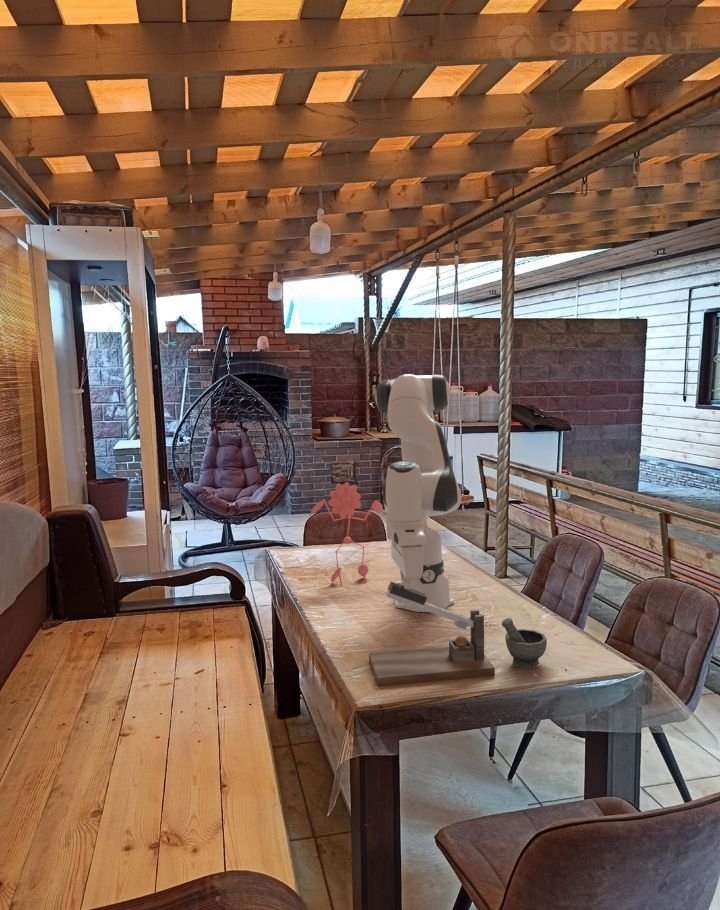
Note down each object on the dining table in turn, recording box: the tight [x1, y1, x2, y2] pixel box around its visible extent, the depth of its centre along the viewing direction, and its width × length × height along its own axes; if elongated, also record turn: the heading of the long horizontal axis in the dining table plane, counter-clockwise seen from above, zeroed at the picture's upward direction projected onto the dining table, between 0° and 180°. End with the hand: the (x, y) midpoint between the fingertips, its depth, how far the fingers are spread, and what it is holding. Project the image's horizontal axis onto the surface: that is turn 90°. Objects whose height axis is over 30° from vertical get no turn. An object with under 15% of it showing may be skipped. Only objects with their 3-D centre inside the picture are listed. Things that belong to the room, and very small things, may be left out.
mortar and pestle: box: [501, 617, 548, 670], centre depth 160 cm, size 11×9×12 cm
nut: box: [454, 635, 468, 647], centre depth 160 cm, size 3×3×3 cm
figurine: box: [309, 481, 384, 587], centre depth 231 cm, size 15×26×35 cm, turn 112°
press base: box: [368, 609, 496, 687], centre depth 159 cm, size 14×28×13 cm, turn 97°
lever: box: [385, 581, 475, 631], centre depth 158 cm, size 3×24×4 cm, turn 97°
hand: (406, 587), depth 156 cm, fingers closed, pressing on lever
